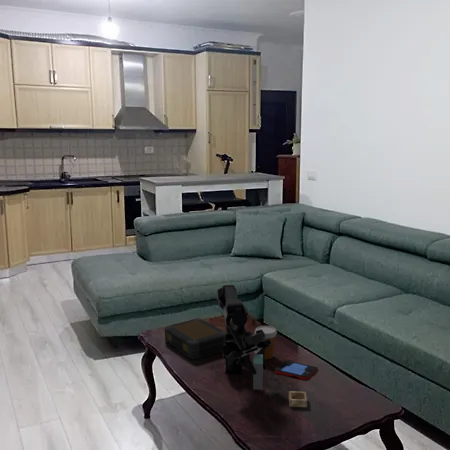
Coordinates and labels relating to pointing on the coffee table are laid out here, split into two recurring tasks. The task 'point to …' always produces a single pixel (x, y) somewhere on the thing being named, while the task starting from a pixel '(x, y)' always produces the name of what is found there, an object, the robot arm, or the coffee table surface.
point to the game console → (295, 369)
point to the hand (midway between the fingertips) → (260, 371)
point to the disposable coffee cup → (270, 334)
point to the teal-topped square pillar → (258, 371)
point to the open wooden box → (297, 399)
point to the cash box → (195, 338)
